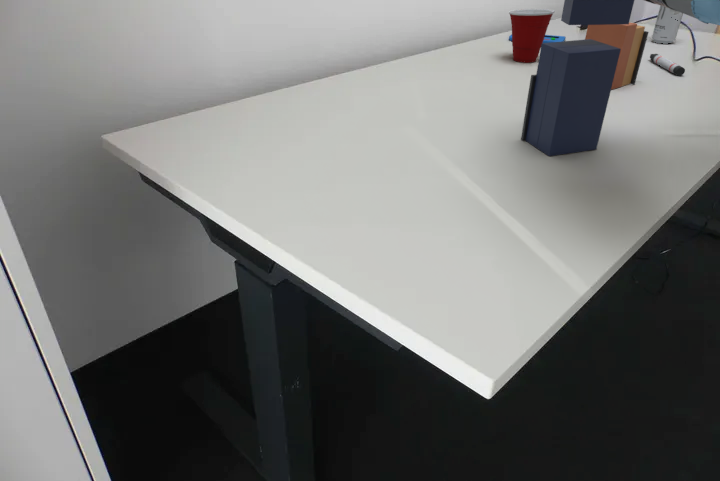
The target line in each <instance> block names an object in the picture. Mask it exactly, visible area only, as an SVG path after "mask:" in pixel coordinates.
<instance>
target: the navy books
mask: <svg viewBox="0 0 720 481" xmlns="http://www.w3.org/2000/svg"><path fill="white" fill-rule="evenodd" d="M620 51H621V49H620V48H617V47H614V46H611V45H608V44H604V43H601V42H598V41H595V40H592V39H586V40H585V39H575V40H565V41H563V42H551V43H542V45H541V48H540V51H539V56H538V64H537V68H536V74H531V75H530V80H529V86H528V93H527V97H526V107H525V111H524V118H523V123H522V129H521V136H520V140H521V141H522V142H524V141H525V142H526V143H528V144H530V145H532V146H533V147H534V148H535V149H537V150H538V151H540V152H541V153H544V154H545V155H546V156H548V157H554V156H561V155H567V154H573V153H574V154H575V153H581V152H587V151H588V152H589V151H594V150H597V148H598V144H599V140H600V136H601V132H602V128H603V124H604V120H605V115H606V111H607V108H608V104H609V99H610V96H611V91H612V90H611V87H612V83H613V79H614V75H615V71H616V67H617V63H618V59H619V55H620Z"/></svg>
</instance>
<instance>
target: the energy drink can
mask: <svg viewBox="0 0 720 481" xmlns="http://www.w3.org/2000/svg"><path fill="white" fill-rule="evenodd" d="M670 10H671V9H669V8H667V7H663V6H661V5H659V10H658V13H657V18H656V21H655V24H654V28H653V32H652V35H651V39H652V42H653V43H655V42H656V43H655V44H659V43H663V44H662V45H669V44H668V43H672V44H673V42H674V41H676V39H677V35H678V33H679V29H680V25H681V22H682V20H683V19H682V18H683V15H684V14H683V13H681V12H679V14H678V15H671V13H670ZM671 17H672V18H671ZM675 19H676V20H675ZM677 20H678V21H677Z"/></svg>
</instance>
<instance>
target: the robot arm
mask: <svg viewBox="0 0 720 481" xmlns="http://www.w3.org/2000/svg"><path fill="white" fill-rule="evenodd" d="M643 1H645V2H647V3H650V4H654V5H657V6H663V7H667V8H669V9H671V10H670V13H671V15H678V14H679V12H681V13H683V15H686V16H689V17H691V18H694V19H696V20H697V21H700V22H702V23H704V24H707V25H708V24H712V25H717V26H720V0H643Z"/></svg>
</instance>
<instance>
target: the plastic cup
mask: <svg viewBox="0 0 720 481" xmlns="http://www.w3.org/2000/svg"><path fill="white" fill-rule="evenodd" d="M508 14H509V15H510V23H511V24H510V25H511V34H512V41H511V46H512V60H513V61H515V62H517V63H522V64H523V63H524V64H527V63H528V64H529V63H535V62H536V61H537V60H538V59H539V55H540V51H541V45H542V43H543V40H544V37H545V35H547V30H548V27H549V25H550V22H551V20H552V17H553V15H554V14H555V10H554V9H548V8H521V9H519V8H517V9H512V10H511V9H510V10H508Z"/></svg>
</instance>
